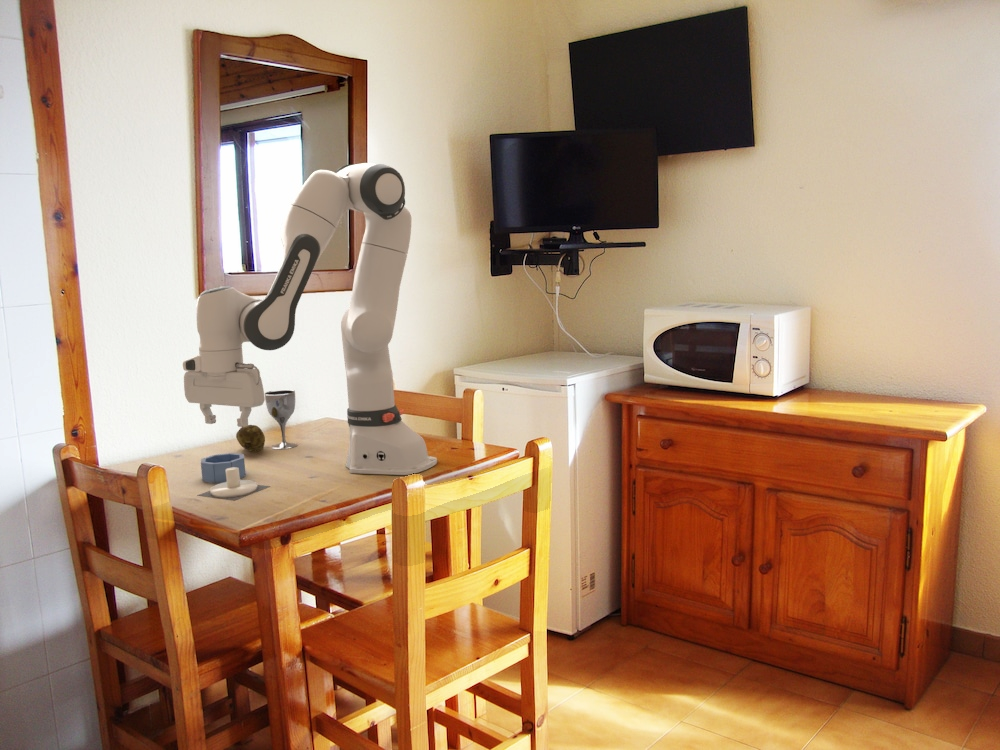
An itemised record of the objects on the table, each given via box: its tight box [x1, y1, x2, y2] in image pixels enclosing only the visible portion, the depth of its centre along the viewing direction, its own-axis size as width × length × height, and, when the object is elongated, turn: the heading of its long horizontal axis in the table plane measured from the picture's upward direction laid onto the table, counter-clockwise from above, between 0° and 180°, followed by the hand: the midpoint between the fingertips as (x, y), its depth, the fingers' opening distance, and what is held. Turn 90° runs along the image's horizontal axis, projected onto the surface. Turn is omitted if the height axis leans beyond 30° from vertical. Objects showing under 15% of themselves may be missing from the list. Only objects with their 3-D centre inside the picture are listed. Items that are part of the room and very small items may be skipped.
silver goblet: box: [264, 389, 299, 450], centre depth 227 cm, size 8×8×15 cm
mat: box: [197, 484, 271, 502], centre depth 184 cm, size 11×11×1 cm
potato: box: [235, 424, 266, 452], centre depth 222 cm, size 8×13×8 cm, turn 2°
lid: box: [209, 467, 258, 498], centre depth 184 cm, size 10×10×5 cm
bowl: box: [200, 452, 247, 484], centre depth 196 cm, size 10×10×5 cm
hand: (226, 424), depth 182 cm, fingers open, 8 cm apart
